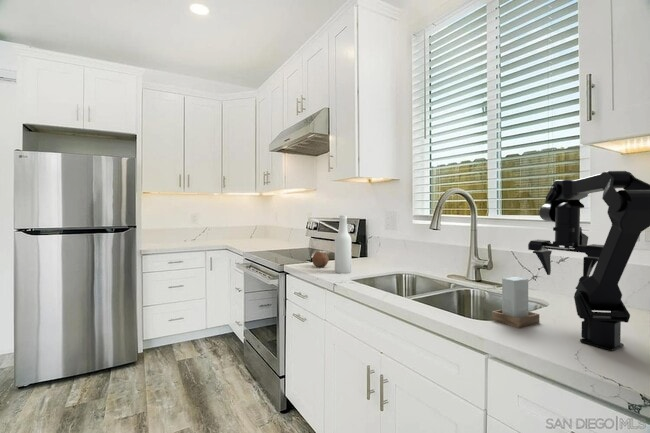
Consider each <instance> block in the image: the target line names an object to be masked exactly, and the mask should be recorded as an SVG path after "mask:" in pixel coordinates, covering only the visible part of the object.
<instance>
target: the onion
mask: <svg viewBox="0 0 650 433" xmlns="http://www.w3.org/2000/svg"><path fill="white" fill-rule="evenodd" d="M311 261H312V264H313V265H314V266H315V267H316V268H321V267H322V268H326V266H327V264H329V256H328V255H327V253H326V252H323V251H316V252H315V253H314V254H313V256H312V259H311Z"/></svg>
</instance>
